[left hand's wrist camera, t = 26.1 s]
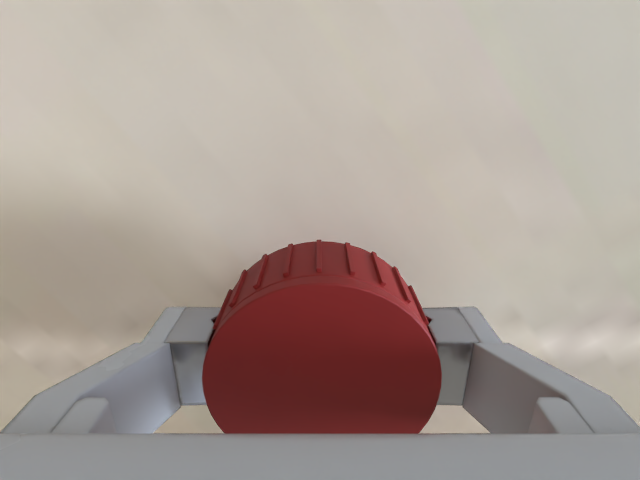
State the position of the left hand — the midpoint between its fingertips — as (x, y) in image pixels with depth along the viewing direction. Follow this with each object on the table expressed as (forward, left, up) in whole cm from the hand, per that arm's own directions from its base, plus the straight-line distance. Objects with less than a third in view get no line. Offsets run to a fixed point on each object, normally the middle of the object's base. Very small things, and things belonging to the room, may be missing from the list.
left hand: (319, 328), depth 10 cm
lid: (0, 0, +2) cm, 2 cm away
